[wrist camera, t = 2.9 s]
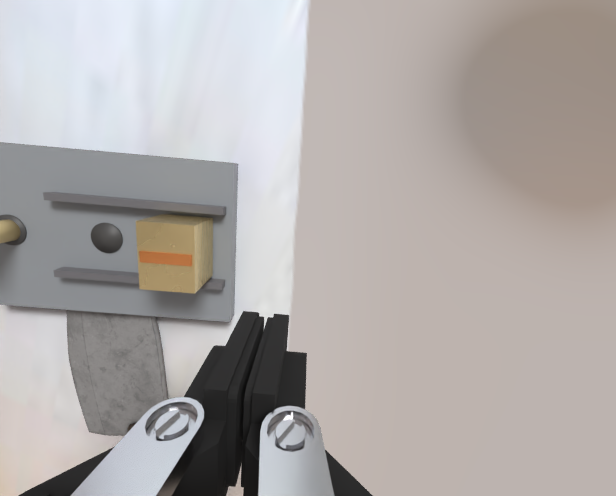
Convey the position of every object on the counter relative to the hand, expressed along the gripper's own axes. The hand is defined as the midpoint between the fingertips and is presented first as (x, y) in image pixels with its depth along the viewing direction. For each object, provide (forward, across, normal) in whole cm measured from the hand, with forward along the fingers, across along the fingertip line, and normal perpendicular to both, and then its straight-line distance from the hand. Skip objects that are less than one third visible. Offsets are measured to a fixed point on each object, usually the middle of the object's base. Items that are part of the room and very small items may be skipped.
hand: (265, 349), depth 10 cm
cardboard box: (+14, +9, 0) cm, 16 cm away
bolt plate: (+16, +16, 0) cm, 22 cm away
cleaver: (+16, +16, +20) cm, 30 cm away
